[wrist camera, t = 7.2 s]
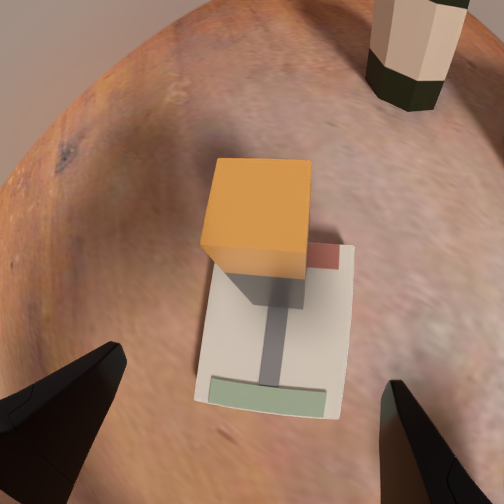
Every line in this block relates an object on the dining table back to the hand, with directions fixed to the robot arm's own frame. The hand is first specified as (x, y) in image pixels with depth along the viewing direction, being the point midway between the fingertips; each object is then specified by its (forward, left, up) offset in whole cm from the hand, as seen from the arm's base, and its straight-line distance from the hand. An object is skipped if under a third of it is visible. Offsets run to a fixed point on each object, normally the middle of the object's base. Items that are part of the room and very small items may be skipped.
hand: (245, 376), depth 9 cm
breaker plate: (+2, +2, -11) cm, 12 cm away
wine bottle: (+26, +14, -11) cm, 31 cm away
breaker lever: (+3, +4, -9) cm, 10 cm away
